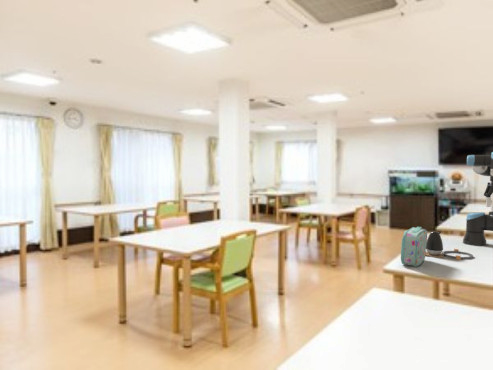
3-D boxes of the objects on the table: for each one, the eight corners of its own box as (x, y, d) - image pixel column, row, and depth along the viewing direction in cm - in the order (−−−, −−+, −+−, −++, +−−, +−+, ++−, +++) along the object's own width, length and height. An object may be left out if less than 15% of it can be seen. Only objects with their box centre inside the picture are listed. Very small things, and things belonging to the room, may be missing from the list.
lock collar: (441, 250, 267) (441, 247, 267) (471, 253, 260) (471, 250, 260) (442, 258, 248) (442, 254, 247) (474, 261, 240) (474, 257, 240)
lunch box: (409, 257, 250) (410, 223, 248) (427, 259, 244) (428, 225, 242) (398, 266, 228) (399, 229, 227) (417, 269, 222) (418, 231, 221)
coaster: (424, 252, 262) (424, 251, 262) (443, 254, 258) (443, 253, 258) (424, 256, 252) (424, 255, 252) (443, 258, 248) (443, 257, 248)
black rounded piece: (446, 255, 253) (447, 231, 252) (435, 256, 248) (436, 233, 247) (433, 251, 262) (433, 229, 261) (422, 253, 257) (422, 230, 256)
